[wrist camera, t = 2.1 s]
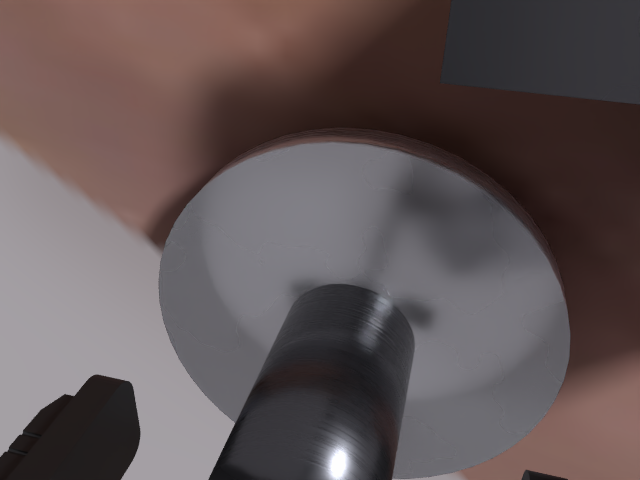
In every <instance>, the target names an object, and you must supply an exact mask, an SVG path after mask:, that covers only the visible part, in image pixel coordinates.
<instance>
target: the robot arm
mask: <svg viewBox="0 0 640 480" xmlns="http://www.w3.org/2000/svg"><path fill="white" fill-rule="evenodd" d="M139 440H140V426H139V420H138V414H137V408H136V402H135V396H134V390H133V386H132V384H131V383H130V382H129V381H124V380H120V379H115V378H111V377H106V376H101V375H93V376H92V377H90V378H89V379H88V380H87V381H86V383H85V384H84V385H83V386H82V387H81V389H80V390H79V391H78V392H77V394H76V395H75V396H71V395H66V394H64V395H63V396H61V397H60V398H58V399H57V400H55V401H54V402H52V403H51V404H49V405H48V406H46V407H45V408H43V409H42V410H40V412H39V413H38V414H37V415H36V416H35V417H34V419H33V420H32V421H31V422H30V423H29V424H28V426H27V427H26V428H25V429H24V430H23V434H22V435H19V436H18V437H17V438H16V440H15V441H14V442H13V443H12V444H11V445H10V447H9V450H8V452H4V453H3V455H2V456H1V457H0V480H121V478H122V476H123V475H124V473H125V472H126V470H127V469H128V467H129V465H130V464H131V462H132V461H133V459H134V457H135V454H136V452H137V449H138V446H139ZM522 480H568V479H565V478H561V477H556V476H552V475H547V474H543V473H538V472H533V471H529V470H526V471H525V472H524V474H523V477H522Z"/></svg>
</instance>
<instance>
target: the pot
mask: <svg viewBox="0 0 640 480" xmlns="http://www.w3.org/2000/svg"><path fill="white" fill-rule="evenodd" d="M440 83H444V84H454V85H463V86H472V87H482V88H491V89H500V90H510V91H519V92H528V93H538V94H547V95H556V96H566V97H575V98H584V99H594V100H603V101H612V102H622V103H631V104H640V0H452V1H451V8H450V15H449V22H448V29H447V36H446V44H445V51H444V58H443V65H442V72H441V79H440Z"/></svg>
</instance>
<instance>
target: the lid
mask: <svg viewBox="0 0 640 480" xmlns="http://www.w3.org/2000/svg"><path fill="white" fill-rule="evenodd" d="M159 296H160V297H159V298H160V306H161V310H162V316H163V320H164V324H165V327H166V329H167V333H168V335H169V338H170V341H171V343H172V345H173V347H174V349H175V351H176V353H177V355H178V357H179V359H180V361H181V363H182V364H183V366H184V367H185V369H186V370H187V372H188V373H189V375H190V377H191V378H192V379H193V381H194V382H195V383H196V384H197V385H198V387H199V388H200V389H201V390H202V392H203V393H204V394H205V395H206V396H207V397H208V398H209V399H210V400H211V401H212V402H213V403H214V404H215V405H216V406H217V407H218V408H219V409H220V410H221V411H222V412H223V413H224V414H225V415H227V416H228V417H229V418H230V419H231V420H233V421H234V422H235V425H234V427H233V429H232V431H231V434H230V436H229V438H228V440H227V442H226V444H225V446H224V448H223V450H222V452H221V455H220V457H219V459H218V461H217V463H216V465H215V467H214V469H213V471H212V473H211V475H210V478H209V480H392V479H410V478H423V477H432V476H437V475H443V474H448V473H453V472H456V471H460V470H463V469H466V468H470V467H473V466H475V465H478V464H480V463H482V462H485V461H487V460H489V459H492V458H494V457H495V456H497V455H499V454H501V453H502V452H504V451H506V450H507V449H509V448H511V447H512V446H514V445H515V444H516V443H517V442H519V441H520V440H521V439H522V438H524V437H525V436H526V435H527V434H529V433H530V432H531V430H532V429H533V428H534V427H535V426H536V425H537V424H538V423H539V422H540V421H541V420H542V419H543V417H544V416H545V414H546V413H547V411H548V410H549V408H550V407H551V405H552V404H553V402H554V401H555V399H556V397H557V395H558V392H559V390H560V388H561V386H562V383H563V381H564V378H565V374H566V370H567V365H568V361H569V354H570V327H569V319H568V311H567V304H566V298H565V291H564V285H563V281H562V278H561V274H560V271H559V268H558V264H557V261H556V259H555V257H554V255H553V252H552V250H551V248H550V246H549V244H548V242H547V240H546V238H545V236H544V235H543V233H542V232H541V230H540V229H539V227H538V226H537V225H536V223H535V222H534V220H533V219H532V217H531V216H530V214H529V213H528V212H527V211H526V210H525V209H524V208H523V207H522V206H521V205H520V203H519V202H518V201H517V200H516V199H515V198H514V197H513V196H512V195H511V194H510V193H509V192H508V191H507V190H506V189H504V188H503V187H502V186H501V185H500V184H498V183H497V182H496V181H495V180H493V179H492V178H491V177H490V176H489V175H487V174H486V173H484V172H483V171H481V170H480V169H478V168H476V167H475V166H473V165H472V164H470V163H468V162H467V161H465V160H464V159H462V158H460V157H458V156H456V155H454V154H452V153H450V152H448V151H445V150H443V149H441V148H439V147H437V146H435V145H432V144H429V143H426V142H423V141H420V140H417V139H414V138H411V137H407V136H404V135H400V134H395V133H390V132H384V131H379V130H374V129H360V128H343V127H341V128H327V129H313V130H308V131H303V132H298V133H293V134H288V135H285V136H282V137H279V138H276V139H273V140H270V141H268V142H265V143H262V144H260V145H258V146H256V147H254V148H252V149H250V150H249V151H247V152H245V153H243V154H241V155H239V156H238V157H236V158H235V159H234V160H232V161H231V162H230V163H228V164H227V165H226V166H224V167H223V168H222V169H220V170H219V171H218V172H217V173H216V174H215V176H214V177H213V178H212V179H211V180H210V181H209V182H208V183H207V184H206V185H205V186H204V187H203V188H202V189H201V190H200V191H199V192H198V193H197V194H196V195H195V197H194V198H193V199H192V200H191V201H190V202H189V203H188V204H187V205H186V207H185V208H184V210H183V211H182V213H181V214H180V216H179V217H178V218H177V220H176V221H175V223H174V225H173V227H172V230H171V232H170V234H169V236H168V238H167V240H166V243H165V247H164V251H163V254H162V258H161V263H160V273H159Z"/></svg>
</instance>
